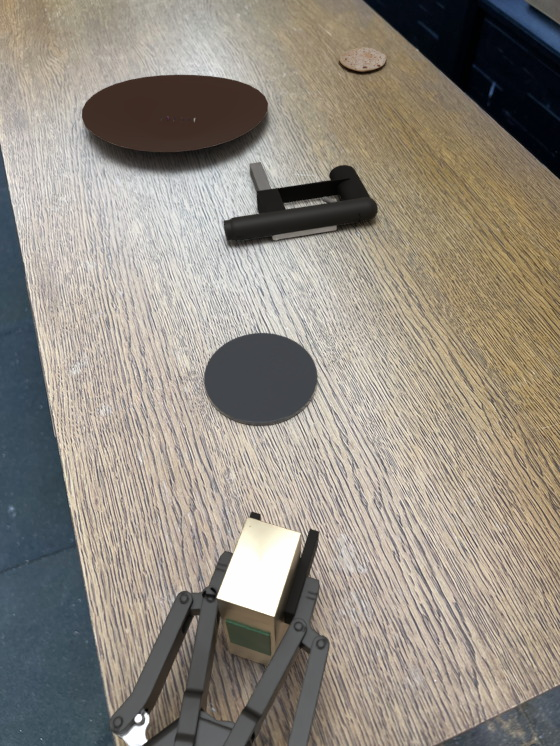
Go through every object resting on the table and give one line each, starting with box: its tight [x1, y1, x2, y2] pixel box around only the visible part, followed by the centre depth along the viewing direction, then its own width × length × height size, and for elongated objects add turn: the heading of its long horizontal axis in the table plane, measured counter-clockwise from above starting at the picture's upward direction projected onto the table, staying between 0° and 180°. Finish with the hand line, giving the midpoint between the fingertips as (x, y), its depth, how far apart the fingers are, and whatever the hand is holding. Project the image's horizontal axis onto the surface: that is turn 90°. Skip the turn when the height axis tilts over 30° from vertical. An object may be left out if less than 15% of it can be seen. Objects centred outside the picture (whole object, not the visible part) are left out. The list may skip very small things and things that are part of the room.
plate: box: [81, 74, 269, 153], centre depth 99 cm, size 28×28×4 cm
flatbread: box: [338, 46, 388, 73], centre depth 110 cm, size 8×8×1 cm
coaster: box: [203, 332, 318, 427], centre depth 69 cm, size 12×12×1 cm
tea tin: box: [216, 516, 303, 667], centre depth 48 cm, size 6×4×13 cm, turn 162°
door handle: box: [222, 161, 379, 242], centre depth 86 cm, size 3×20×16 cm
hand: (284, 529), depth 51 cm, fingers closed on tea tin, 4 cm apart
